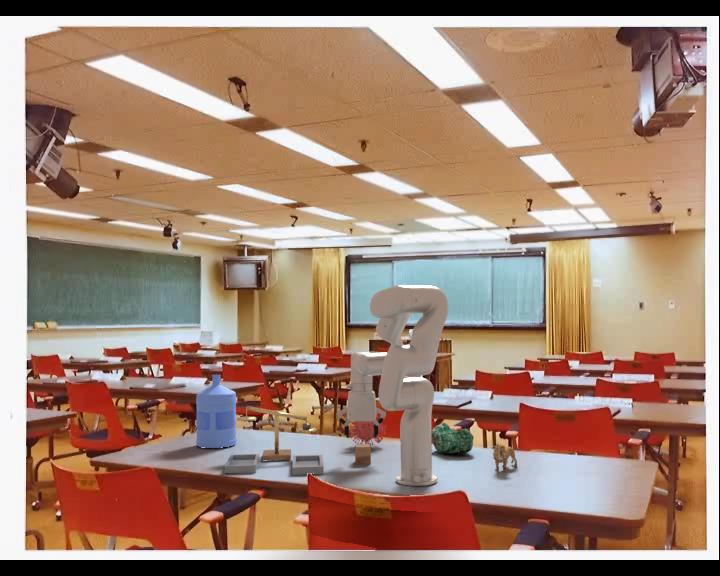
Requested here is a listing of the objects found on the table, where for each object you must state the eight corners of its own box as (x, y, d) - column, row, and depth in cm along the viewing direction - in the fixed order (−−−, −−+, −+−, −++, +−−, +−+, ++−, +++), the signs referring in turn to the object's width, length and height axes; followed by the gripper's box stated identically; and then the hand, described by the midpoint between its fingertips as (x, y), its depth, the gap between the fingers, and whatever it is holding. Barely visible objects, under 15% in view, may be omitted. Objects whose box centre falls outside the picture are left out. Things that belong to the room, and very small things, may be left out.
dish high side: (255, 472, 216) (255, 465, 216) (224, 473, 215) (224, 466, 215) (259, 460, 234) (259, 453, 234) (230, 461, 233) (230, 454, 233)
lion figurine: (506, 474, 209) (506, 446, 210) (490, 473, 212) (490, 444, 212) (519, 465, 222) (518, 438, 223) (504, 463, 225) (503, 437, 225)
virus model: (371, 442, 266) (371, 404, 267) (393, 447, 254) (393, 408, 255) (340, 446, 258) (340, 408, 259) (362, 452, 246) (361, 412, 247)
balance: (316, 459, 235) (316, 405, 235) (235, 462, 232) (235, 407, 233) (316, 453, 245) (315, 402, 245) (238, 456, 242) (238, 404, 243)
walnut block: (370, 464, 227) (370, 446, 227) (356, 464, 226) (356, 447, 227) (369, 461, 232) (369, 443, 232) (355, 461, 231) (354, 444, 232)
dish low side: (323, 474, 213) (323, 466, 213) (292, 475, 212) (292, 467, 212) (322, 462, 231) (322, 454, 231) (293, 463, 230) (293, 455, 230)
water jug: (201, 442, 271) (201, 373, 272) (239, 441, 271) (239, 373, 272) (191, 449, 255) (191, 376, 257) (232, 449, 255) (231, 376, 257)
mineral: (418, 452, 245) (418, 425, 245) (445, 446, 256) (444, 420, 256) (459, 459, 232) (459, 431, 232) (485, 452, 243) (484, 425, 243)
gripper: (337, 389, 226) (336, 439, 226) (387, 389, 227) (387, 439, 227) (336, 386, 233) (335, 435, 233) (384, 386, 235) (384, 434, 235)
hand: (361, 437), depth 230 cm, fingers open, 9 cm apart
